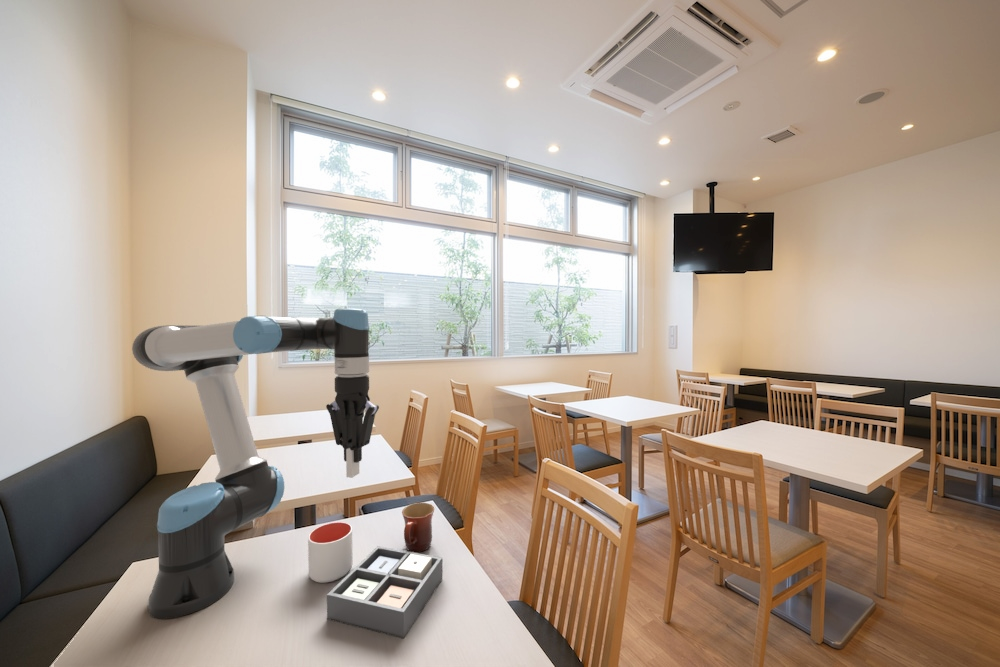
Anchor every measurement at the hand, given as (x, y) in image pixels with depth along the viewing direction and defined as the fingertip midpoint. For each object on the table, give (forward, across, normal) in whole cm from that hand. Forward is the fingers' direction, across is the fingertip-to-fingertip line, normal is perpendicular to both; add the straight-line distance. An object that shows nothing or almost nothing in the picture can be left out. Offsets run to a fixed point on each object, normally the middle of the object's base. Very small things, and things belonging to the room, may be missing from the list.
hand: (353, 475), depth 87 cm
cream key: (+24, +14, +3) cm, 28 cm away
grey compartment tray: (+26, +10, -1) cm, 28 cm away
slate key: (+26, +6, +3) cm, 27 cm away
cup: (+27, -9, +3) cm, 28 cm away
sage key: (+26, +6, -5) cm, 27 cm away
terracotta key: (+26, +14, -5) cm, 30 cm away
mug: (+27, +7, +17) cm, 32 cm away
